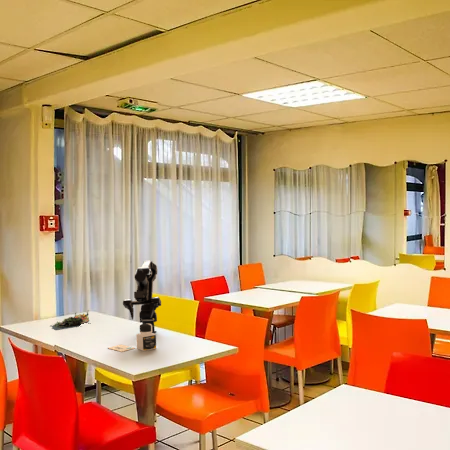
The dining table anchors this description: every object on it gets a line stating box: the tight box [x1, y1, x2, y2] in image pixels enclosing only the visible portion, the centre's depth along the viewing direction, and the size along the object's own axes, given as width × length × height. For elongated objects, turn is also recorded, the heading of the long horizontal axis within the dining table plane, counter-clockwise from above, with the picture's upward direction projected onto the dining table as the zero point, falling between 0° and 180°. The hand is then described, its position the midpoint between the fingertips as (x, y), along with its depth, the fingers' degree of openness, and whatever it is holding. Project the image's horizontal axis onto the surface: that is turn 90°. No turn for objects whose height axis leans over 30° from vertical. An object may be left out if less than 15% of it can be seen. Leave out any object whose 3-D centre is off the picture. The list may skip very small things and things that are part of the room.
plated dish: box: [50, 310, 90, 331], centre depth 316 cm, size 35×28×7 cm
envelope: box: [107, 344, 136, 353], centre depth 255 cm, size 11×8×1 cm
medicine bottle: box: [135, 323, 157, 352], centre depth 253 cm, size 7×7×12 cm
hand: (141, 318), depth 261 cm, fingers open, 9 cm apart
